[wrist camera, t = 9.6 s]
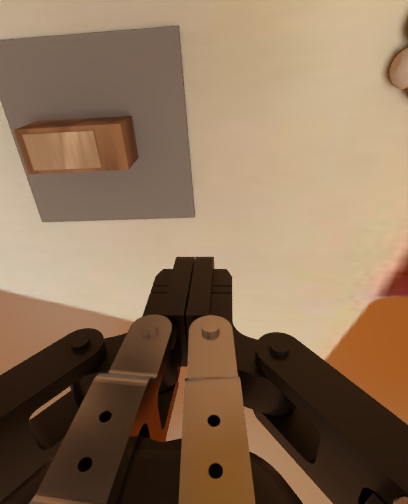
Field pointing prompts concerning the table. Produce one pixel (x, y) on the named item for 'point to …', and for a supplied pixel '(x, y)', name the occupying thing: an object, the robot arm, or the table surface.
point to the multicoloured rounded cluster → (400, 70)
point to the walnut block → (78, 145)
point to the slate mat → (105, 105)
